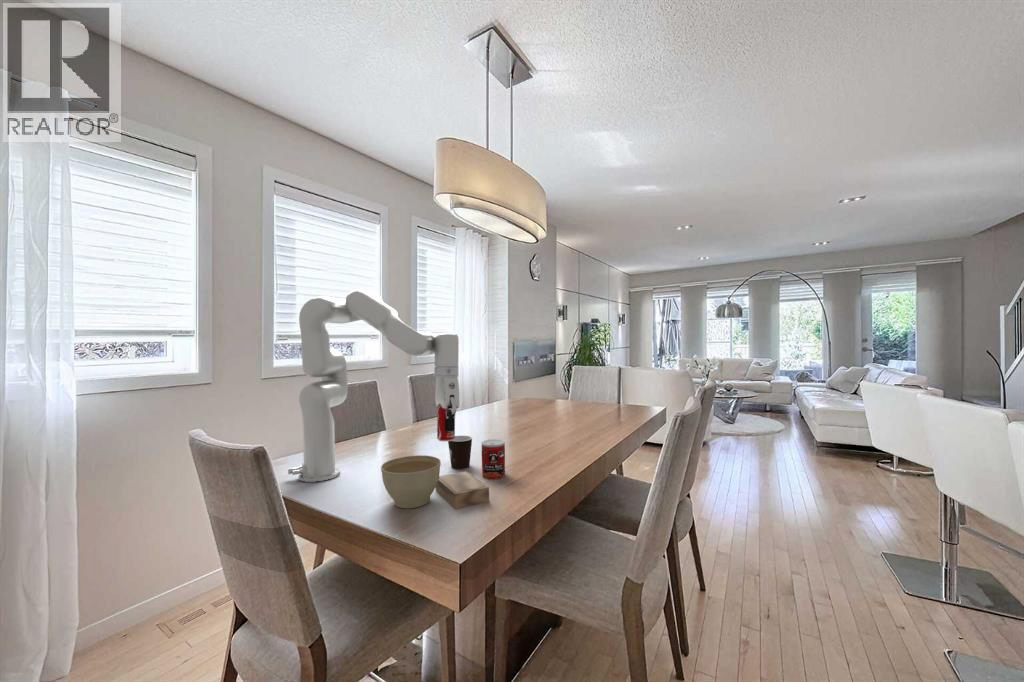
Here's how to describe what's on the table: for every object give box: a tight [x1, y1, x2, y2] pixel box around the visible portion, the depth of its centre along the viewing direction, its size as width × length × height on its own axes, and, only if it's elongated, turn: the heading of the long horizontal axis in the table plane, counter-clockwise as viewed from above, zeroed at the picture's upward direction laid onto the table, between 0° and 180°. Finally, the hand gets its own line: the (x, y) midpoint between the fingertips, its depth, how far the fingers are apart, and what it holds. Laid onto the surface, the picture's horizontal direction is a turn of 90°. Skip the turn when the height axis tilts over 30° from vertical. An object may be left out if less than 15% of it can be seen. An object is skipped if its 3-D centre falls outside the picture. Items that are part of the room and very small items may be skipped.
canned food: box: [481, 438, 506, 480], centre depth 137 cm, size 8×8×11 cm
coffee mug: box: [447, 435, 473, 470], centre depth 148 cm, size 12×9×10 cm
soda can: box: [436, 403, 456, 442], centre depth 131 cm, size 6×6×12 cm
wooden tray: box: [435, 470, 490, 510], centre depth 119 cm, size 10×16×4 cm, turn 29°
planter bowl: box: [380, 454, 442, 509], centre depth 115 cm, size 16×16×11 cm
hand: (446, 428), depth 131 cm, fingers closed on soda can, 5 cm apart
